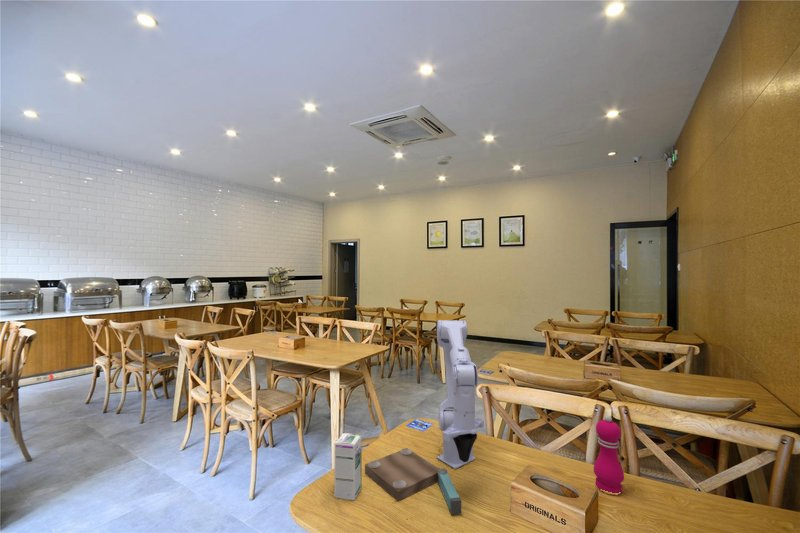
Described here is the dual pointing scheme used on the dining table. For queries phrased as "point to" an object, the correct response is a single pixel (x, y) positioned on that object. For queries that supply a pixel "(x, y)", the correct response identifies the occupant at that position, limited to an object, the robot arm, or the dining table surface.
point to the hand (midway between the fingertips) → (463, 460)
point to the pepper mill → (608, 457)
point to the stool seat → (402, 473)
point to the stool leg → (449, 492)
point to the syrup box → (348, 466)
